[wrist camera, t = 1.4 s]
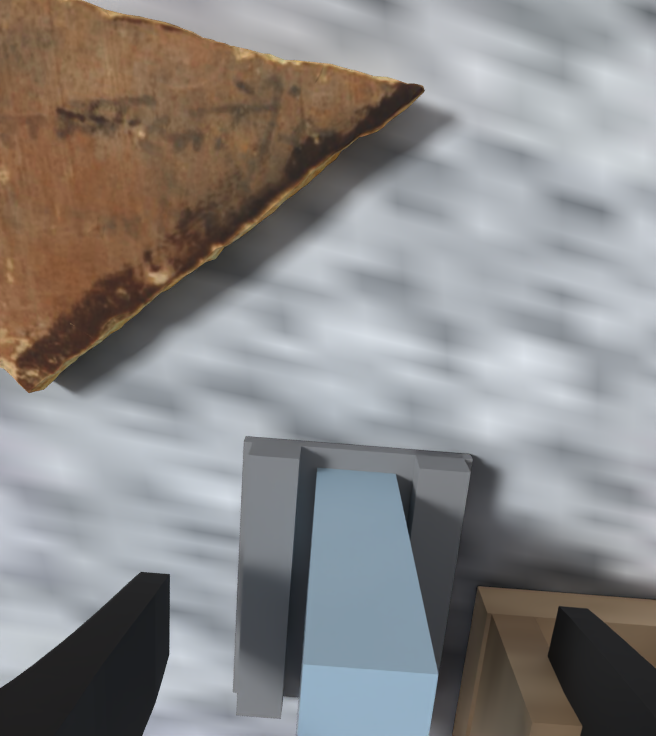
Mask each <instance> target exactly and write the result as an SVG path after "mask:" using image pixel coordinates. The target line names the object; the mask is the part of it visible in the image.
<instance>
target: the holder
mask: <svg viewBox="0 0 656 736" xmlns="http://www.w3.org/2000/svg"><path fill="white" fill-rule="evenodd" d="M472 462H473V459H472V457H471V455H470V454H462V453H450V452H437V451H424V450H412V449H399V448H386V447H374V446H361V445H348V444H336V443H323V442H310V441H297V440H285V439H272V438H259V437H247V436H246V437H245V440H244V450H243V473H242V496H241V519H240V542H239V564H238V587H237V610H236V633H235V656H234V679H233V692H235V693H237V711H236V715H237V716H250V717H263V718H277V719H281V712H282V703H283V696H288V697H299V687H300V674H301V662H302V650H303V637H304V625H305V613H306V600H307V588H308V576H309V563H310V551H311V538H312V526H313V514H314V501H315V489H316V477H317V468H329V469H341V470H354V471H367V472H379V473H392V474H396V477H397V482H398V487H399V492H400V496H401V501H402V506H403V510H404V515H405V520H406V525H407V529H408V534H409V539H410V543H411V548H412V553H413V558H414V562H415V567H416V572H417V576H418V581H419V586H420V590H421V595H422V600H423V605H424V609H425V614H426V619H427V623H428V628H429V633H430V638H431V642H432V647H433V652H434V656H435V661H436V666H437V670H438V676H439V670H440V664H441V657H442V651H443V645H444V638H445V632H446V626H447V619H448V613H449V607H450V600H451V594H452V588H453V582H454V575H455V569H456V563H457V556H458V550H459V544H460V537H461V531H462V525H463V518H464V512H465V506H466V500H467V493H468V487H469V481H470V474H471V468H472ZM437 682H438V680H437ZM436 689H437V686H436ZM435 695H436V693H435ZM434 701H435V699H434ZM433 707H434V705H433ZM432 713H433V712H432ZM431 720H432V718H431ZM430 726H431V724H430Z"/></svg>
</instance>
